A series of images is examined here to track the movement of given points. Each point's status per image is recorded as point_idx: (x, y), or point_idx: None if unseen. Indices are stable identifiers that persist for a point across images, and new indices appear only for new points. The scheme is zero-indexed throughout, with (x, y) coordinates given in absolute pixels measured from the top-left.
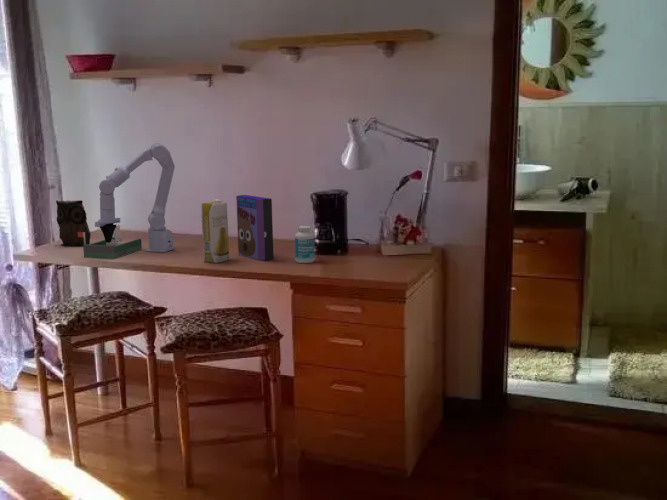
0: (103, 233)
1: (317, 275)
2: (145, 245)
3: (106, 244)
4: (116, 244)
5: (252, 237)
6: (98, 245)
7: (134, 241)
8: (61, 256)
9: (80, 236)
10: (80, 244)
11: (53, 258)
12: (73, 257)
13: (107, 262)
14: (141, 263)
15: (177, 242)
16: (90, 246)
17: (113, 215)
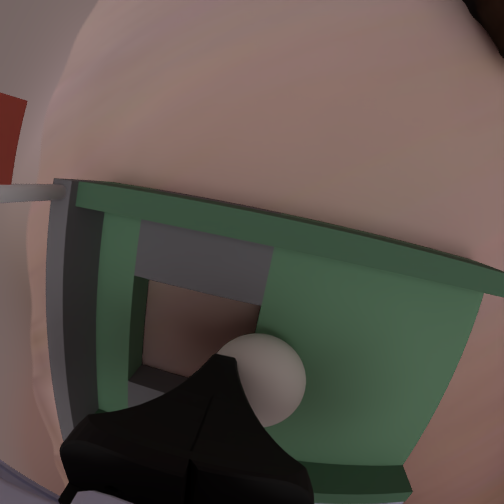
0: (165, 399)
1: None
2: (491, 417)
3: (226, 345)
4: (437, 322)
5: None
6: (52, 340)
7: (326, 500)
8: (138, 18)
9: (9, 138)
10: (478, 9)
11: (87, 18)
12: (102, 111)
13: (34, 382)
14: None
15: (498, 486)
16: (53, 259)
17: None
